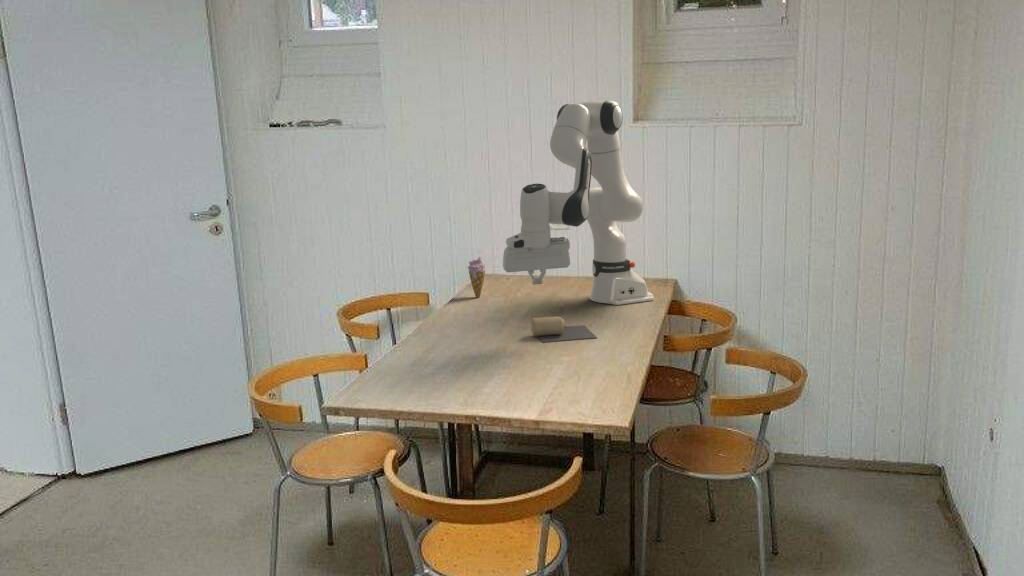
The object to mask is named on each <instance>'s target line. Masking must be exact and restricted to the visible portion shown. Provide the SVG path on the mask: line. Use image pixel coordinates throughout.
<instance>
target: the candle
mask: <svg viewBox="0 0 1024 576" xmlns="http://www.w3.org/2000/svg"><path fill="white" fill-rule="evenodd" d="M565 327H567V324H566V322H565V319H564V318H562V317H561V316H545V317H533V318H532V319H531V332H532V336H533V337H537V336H545V335H560V334H562V333H563V331H564V329H565Z"/></svg>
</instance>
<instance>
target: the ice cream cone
mask: <svg viewBox="0 0 1024 576" xmlns="http://www.w3.org/2000/svg"><path fill="white" fill-rule="evenodd" d="M468 263H469V265H468V266H467V269H468V274H469V280H470V282H471V286H472V289H473V292H474V295H475V299H480V298H481V295H482V294H481V293H482V291H483V285H484V280H485V275H486V269H485V268H486V267H485V266H486V263H485V262H484V261H483V258H482V257H481V256H479V257H478V258H477V259H473V260H469V262H468Z"/></svg>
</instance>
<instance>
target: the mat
mask: <svg viewBox="0 0 1024 576" xmlns="http://www.w3.org/2000/svg"><path fill="white" fill-rule="evenodd" d="M536 337H537V338H538V340H540V342H541V343H543V344H544V343H555V342H557V343H558V342H567V341H577V340H578V341H580V340H581V341H582V340H591V339H593V340H594V339H598V336H596V335H595V334H594V333H593V332H592V331H591V330H590V329H589V328H588V327H587V326H586V325H582V324H581V325H568V326H567V325H566V327H565V329H564V331H563V333H562V334H560V335H545V336H536Z"/></svg>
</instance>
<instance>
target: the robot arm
mask: <svg viewBox="0 0 1024 576" xmlns="http://www.w3.org/2000/svg"><path fill="white" fill-rule="evenodd" d="M622 125H623V110H622V108H621V105H619V104H618V103H617V102H616V101H612V100H605V101H603V100H587V101H581V102H575V103H573V102H569V103H566V104H563V105H561V107H560V108H559V110H558V111H557V115H556V122H555V124H554V127H553V129H552V132H551V133H552V134H551V136H550V142H549V148H550V151H551V153H552V155H553V156H554V158H556V159H557V160H558V161H559V162H560V163H562V164H564V165H567V166H569V167H571V168H573V169H575V173H574V175H575V176H574V185H573V189H572V191H569V192H560V191H559V192H557V191H556V192H555V191H550V190H548V187H547V186H546V185H545V184H543V183H531V184H527V185H526V186H524V187H523V188H522V189H521V192H520V201H519V203H520V204H519V213H520V214H519V215H520V216H519V217H520V219H521V226H520V233H517V234H515V235H512V236H510V237H507V238H506V239H505V243H506V247H505V248H504V251H503V258H502V267H503V270H504V271H505V272H506V273H519V272H527V273H528V275H529V276H530V278H531V283H532V285H543V281H544V280H543V279H544V278H545V275H546V273H547V270H553V269H555V270H556V269H565V268H569V267H570V265H571V258H570V252H569V250H570V249H571V248H570V247H571V246H570V245H571V242H570V240H569V239H568V238H566V237H564V236H560V237H551V226H550V224H552V225H565V226H571V227H580V226H581V225H582V224H583V223H585V222H586V221H587V222H588V224H589V227H590V230H591V235H592V238H593V239H592V240H593V259H592V266H591V267H592V269H591V270H592V286H591V291H590V296H589V300H590V301H593V302H594V303H595V302H596V303H599V304H608V305H615V306H620V305H626V304H628V305H629V304H634V303H644V302H648V301H649V302H651V301H653V300H654V299H655V296H654V294H653V293H651V292H650V291H648V286H647V283H646V281H645V279H644V278H643V277H641V276H640V275H638V274H637V273H636V272H635V271H633V270H632V269H633V268H635V267H636V263H635V262H634V261H631V260H629V259H626V252H627V251H626V249H627V248H626V246H627V243H626V241H627V240H626V237H625V235H624V234H623V232H622V231H621V230H620V229H619V227H618V224H617V223H629V222H630V223H631V222H635V221H638V219H639V218H640V216H641V215H642V212H643V208H644V207H643V206H644V204H643V199H642V198H641V196H640V195H639V194H638V193H636V191H634V189H633V188H632V186H631V184H630V183H629V181H628V179H627V177H626V174H625V170H624V166H623V159H622V150H621V142H620V137H619V132H618V131H619V129H620V128H621V126H622ZM592 177H593V179H595V180H596V181H597V182H598V184H599V185H600V187H598V186H597V187H591V181H592ZM631 268H632V269H631ZM535 271H539V272H540V275H539V276H537V277H535V276H534V274H535Z"/></svg>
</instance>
